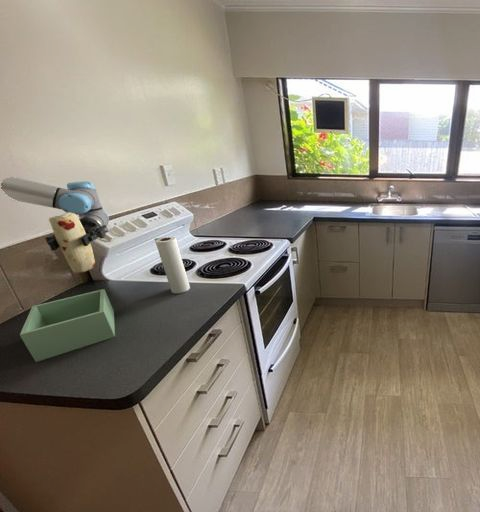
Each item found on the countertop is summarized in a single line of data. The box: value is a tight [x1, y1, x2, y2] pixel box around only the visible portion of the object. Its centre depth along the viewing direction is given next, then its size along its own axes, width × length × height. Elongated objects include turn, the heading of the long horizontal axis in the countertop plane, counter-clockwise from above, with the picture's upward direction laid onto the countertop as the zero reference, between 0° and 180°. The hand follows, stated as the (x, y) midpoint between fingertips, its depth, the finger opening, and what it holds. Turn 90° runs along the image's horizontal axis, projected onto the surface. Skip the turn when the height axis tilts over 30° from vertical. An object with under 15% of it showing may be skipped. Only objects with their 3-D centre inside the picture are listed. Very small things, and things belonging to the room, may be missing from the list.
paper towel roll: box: [154, 236, 191, 294], centre depth 109 cm, size 7×6×21 cm
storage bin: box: [19, 288, 116, 363], centre depth 86 cm, size 18×16×9 cm
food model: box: [48, 212, 97, 274], centre depth 96 cm, size 10×7×20 cm
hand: (68, 244), depth 92 cm, fingers closed on food model, 7 cm apart
